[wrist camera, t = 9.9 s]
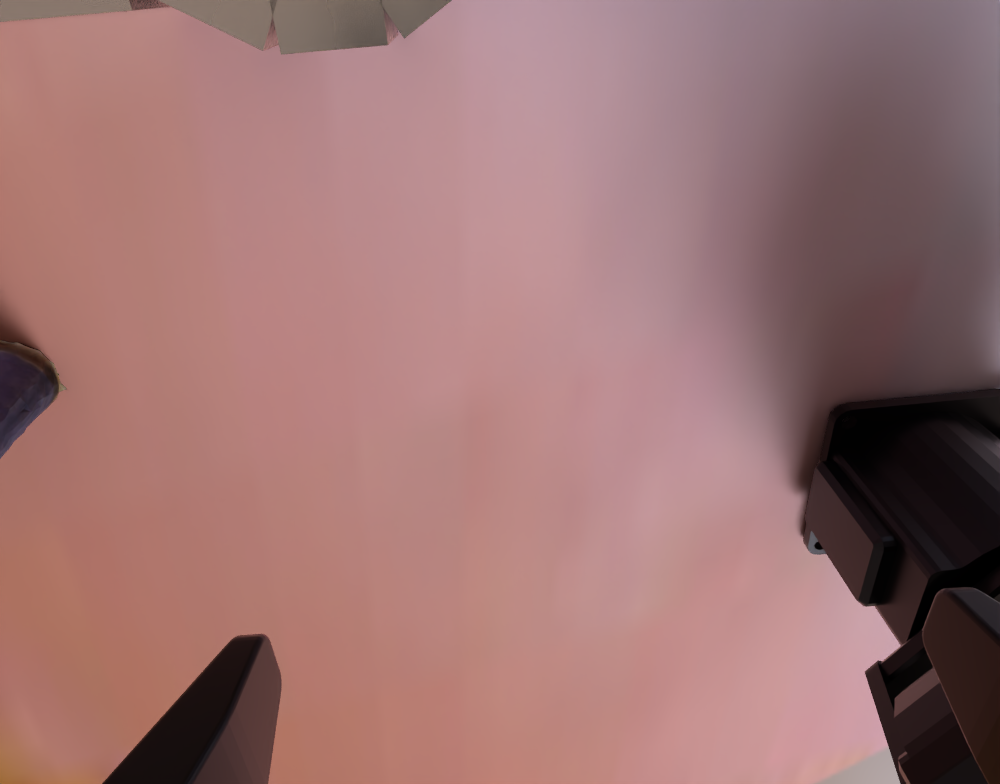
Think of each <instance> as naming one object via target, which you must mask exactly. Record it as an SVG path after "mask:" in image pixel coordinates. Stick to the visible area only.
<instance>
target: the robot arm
mask: <svg viewBox="0 0 1000 784" xmlns="http://www.w3.org/2000/svg"><path fill="white" fill-rule="evenodd" d="M849 416H850V418H849V419H848V420H847V421H845V422H842V421H843V420H844V419H845V418H846V417H849ZM805 521H806V528H805V533H804V538H803V541H804V544H805V545H806V547H807V549H808V550H809V551H810V553H812V554H827V555H828V557H829V558H830V560H831V561H832V563H833V565H834V566H835V568H836V569H837V571H838V572H839V574H840V575H841V577H842V578H843V580H844V582H845V583H846V585H847V586H848V588H849V589H850V591H851V592H852V594H853V595H854V597H855V599H856V600H857V601H858V602H859V603H861V604H862V605H863V606H875V607H876V609H877V610H878V612H879V613H880V615H881V616H882V618H883V619H884V621H885V622H886V624H887V625H888V627H889V628H890V630H891V631H892V633H893V634H894V636H895V637H896V639H897V640H898V642H899V643H900V645H901V646H900V647H899V648H898V649H897V650H896V651H894V652H893V653H892V654H891V655H890V656H888V657H887V658H886V659H885V660H884V661H877V662H876V663H875V664H874V665H872V666H871V667H870V668H869V669H868V670H866V671H865V674H866V677H867V681H868V684H869V687H870V690H871V693H872V696H873V699H874V702H875V705H876V709H877V712H878V715H879V718H880V721H881V724H882V727H883V730H884V733H885V737H886V740H887V743H888V746H889V749H890V752H891V755H892V758H893V762H894V765H895V768H896V771H897V773H898V777H899V780H900V783H901V784H1000V389H993V390H982V391H972V392H961V393H951V394H940V395H930V396H919V397H908V398H898V399H887V400H877V401H866V402H855V403H846V404H842V405H839V406H837V407H836V408H834V409H833V411H832V412H831V413H830V415H829V418H828V423H827V428H826V432H825V437H824V442H823V447H822V452H821V456H820V461H819V463H818V464H817V466H816V467H815V470H814V475H813V479H812V484H811V489H810V494H809V499H808V504H807V509H806V513H805ZM280 696H281V673H280V670H279V667H278V664H277V661H276V658H275V655H274V651H273V648H272V645H271V642H270V640H269V638H268V637H267V636H266V635H265V634H253V635H240V636H237V637H235V638H233V639H232V640H231V641H230V642H229V643H228V644H227V645H226V646H225V647H224V648H223V649H222V651H221V652H220V653H219V654H218V655H217V656H216V657H215V658H214V659H213V661H212V662H211V663H210V664H209V665H208V666H207V667H206V668H205V670H204V671H203V672H202V673H201V674H200V675H199V676H198V677H197V678H196V680H195V681H194V682H193V683H192V684H191V685H190V686H189V687H188V688H187V690H186V691H185V692H184V693H183V694H182V695H181V696H180V697H179V699H178V700H177V701H176V702H175V703H174V704H173V705H172V706H171V707H170V709H169V710H168V711H167V712H166V713H165V714H164V715H163V716H162V717H161V719H160V720H159V721H158V722H157V723H156V724H155V725H154V726H153V728H152V729H151V730H150V731H149V732H148V733H147V734H146V735H145V736H144V738H143V739H142V740H141V741H140V742H139V743H138V744H137V745H136V746H135V748H134V749H133V750H132V751H131V752H130V753H129V754H128V755H127V757H126V758H125V759H124V760H123V761H122V762H121V763H120V764H119V765H118V767H117V768H116V769H115V770H114V771H113V772H112V773H111V774H110V775H109V777H108V778H107V779H106V780H105V781H104V782H103V783H102V784H268V780H269V773H270V766H271V759H272V752H273V745H274V738H275V731H276V724H277V717H278V710H279V703H280Z"/></svg>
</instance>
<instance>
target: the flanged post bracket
mask: <svg viewBox="0 0 1000 784" xmlns="http://www.w3.org/2000/svg"><path fill="white" fill-rule="evenodd" d="M450 1H451V0H0V22H4V21H16V20H27V19H39V18H50V17H61V16H73V15H84V14H96V13H107V12H119V11H130V10H141V9H150V8H160V7H170V6H171V7H173V8H175V9H177V10H179V11H181V12H183V13H185V14H188V15H190V16H192V17H194V18H196V19H198V20H200V21H202V22H204V23H206V24H208V25H210V26H212V27H215V28H217V29H219V30H221V31H223V32H225V33H227V34H229V35H231V36H233V37H235V38H237V39H239V40H241V41H244V42H246V43H248V44H250V45H252V46H254V47H256V48H258V49H260V50H262V51H264V50H267V49H269V48H272V47H274V46H277V45H279V47H280V52H281V54H292V53H303V52H314V51H326V50H337V49H348V48H360V47H371V46H382V45H388V44H389V43H390V42H391V41H392V40H393V39H394V38H395V37H396V36H397V35H398V30H399V32H400V33H401V35H402V36H403V37H404V38H405V37H407V36H408V35H409V34H410V33H412V32H413V31H414V30H415V29H417V28H418V27H419V26H420V25H422V24H423V23H424V22H425V21H427V20H428V19H429V18H430V17H432V16H433V15H434V14H435V13H436V12H438V11H439V10H440V9H441V8H443V7H444V6H445V5H446V4H448V3H449V2H450ZM397 29H398V30H397Z"/></svg>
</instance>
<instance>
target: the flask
mask: <svg viewBox="0 0 1000 784" xmlns="http://www.w3.org/2000/svg"><path fill="white" fill-rule="evenodd" d="M58 375H59V374H58V373H57V371H56V368H55V366H54V364H53V363H52V362H51V361H49V360H48V359H47V358H46V357H45V356H44V355H43V354H42V353H41V352H40V351H39V350H36V349H32V348H29V347H26V346H24V345H22V344H20V343H18V342H13V343H9V342H6V341H2V340H0V458H1V457H2V456H3V455H4V454H5V452H6V451H7V450H8V449H9V448H10V446H11V445H12V444H13V442H14V441H15V440H16V439H17V438H18V437H19V436H20V435H22V434H23V433H24V431H25V429H26V427H27V426H29V425H30V424H31V423H32V422H33V421H34V420H35V419H36V418H37V417H38V416H39V415H40V414H41V413H42V412H43V411H44V410H45V409H47V408H48V407H49V405H50V404H51V403H52V402H53V401H54V400H55V399H56V398H57V396H58V393H59V392H61V391H63V390H65V389H66V388H65V387H64V386H63V385H62V384H61V383H60V380H59V377H58Z"/></svg>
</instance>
